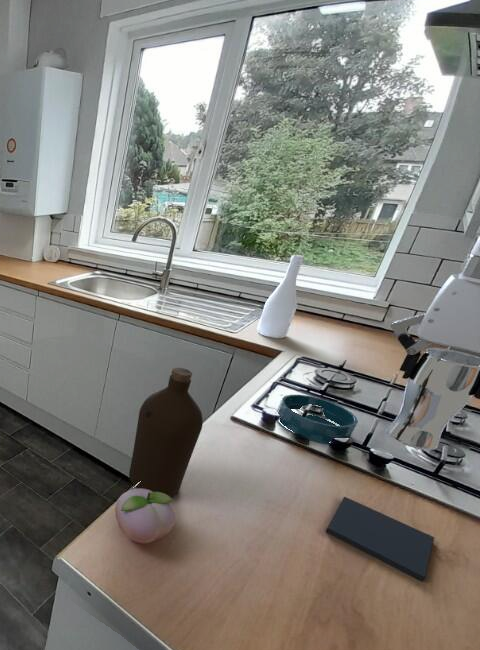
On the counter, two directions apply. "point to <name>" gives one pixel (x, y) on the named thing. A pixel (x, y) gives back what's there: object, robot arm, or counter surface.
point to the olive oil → (166, 436)
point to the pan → (316, 419)
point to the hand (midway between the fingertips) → (440, 384)
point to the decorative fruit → (144, 515)
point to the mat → (382, 537)
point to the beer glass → (434, 396)
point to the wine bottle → (281, 304)
